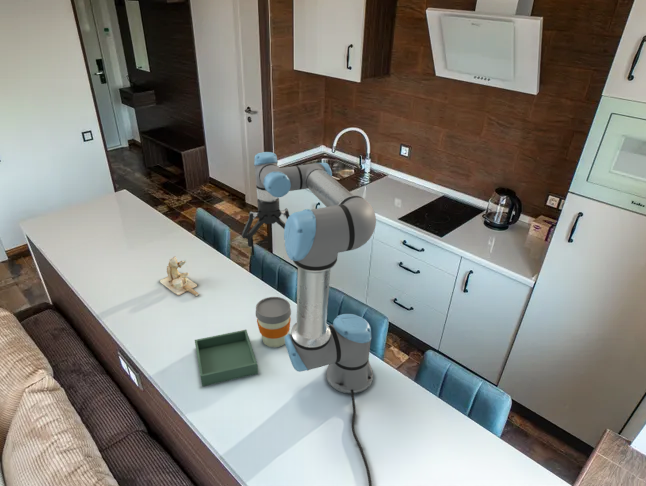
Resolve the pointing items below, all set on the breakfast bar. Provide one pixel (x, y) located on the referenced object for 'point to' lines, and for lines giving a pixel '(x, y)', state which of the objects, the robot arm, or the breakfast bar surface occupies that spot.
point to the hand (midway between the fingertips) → (271, 252)
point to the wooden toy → (178, 279)
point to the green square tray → (225, 357)
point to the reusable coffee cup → (273, 320)
